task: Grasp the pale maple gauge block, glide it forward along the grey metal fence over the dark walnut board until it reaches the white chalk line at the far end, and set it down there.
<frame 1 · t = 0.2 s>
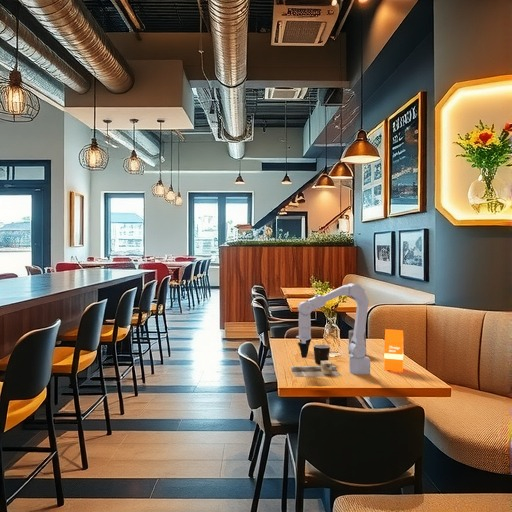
hand: (304, 355, 217), 10 cm above the table, tool pointing down, fingers open, 7 cm apart
marking board: (315, 376, 217), on the table
coffee mug: (319, 366, 237), on the table
gauge block: (326, 372, 218), point 1 cm above the table, touching marking board
orange juice: (393, 369, 230), on the table
pillar candle: (357, 355, 263), on the table
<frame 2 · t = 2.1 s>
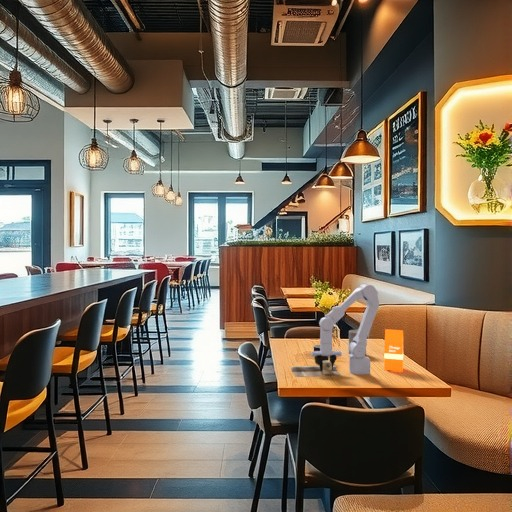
hand: (326, 371, 218), 2 cm above the table, tool pointing down, fingers closed on gauge block, 4 cm apart
gauge block: (326, 372, 218), point 1 cm above the table, touching gripper, marking board
everything else where it was.
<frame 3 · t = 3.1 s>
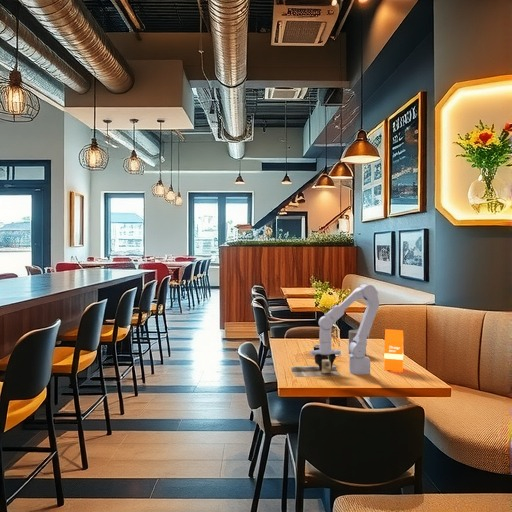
hand: (325, 370, 218), 3 cm above the table, tool pointing down, fingers closed on gauge block, 4 cm apart
gauge block: (325, 371, 218), point 2 cm above the table, touching gripper
everything else where it was.
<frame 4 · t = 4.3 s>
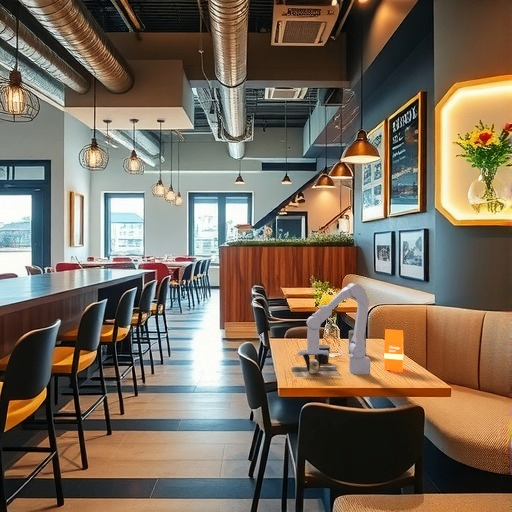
hand: (313, 370, 218), 3 cm above the table, tool pointing down, fingers closed on gauge block, 4 cm apart
gauge block: (313, 371, 218), point 2 cm above the table, touching gripper
everything else where it was.
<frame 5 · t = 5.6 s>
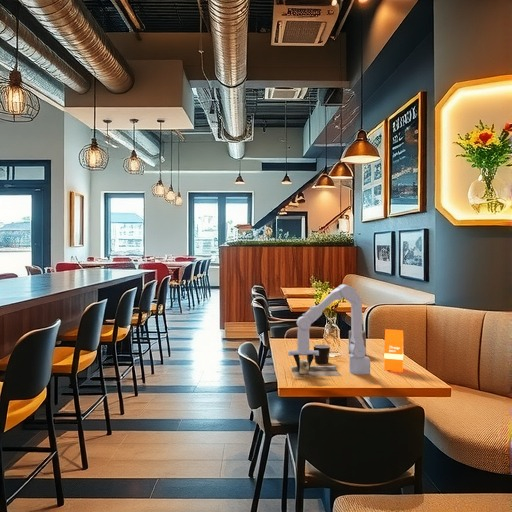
hand: (303, 370, 217), 3 cm above the table, tool pointing down, fingers closed on gauge block, 4 cm apart
gauge block: (303, 371, 217), point 2 cm above the table, touching gripper
everything else where it was.
when the fingers open (2 cm above the table, at t = 6.6 s): gauge block stays where it is, resting on marking board.
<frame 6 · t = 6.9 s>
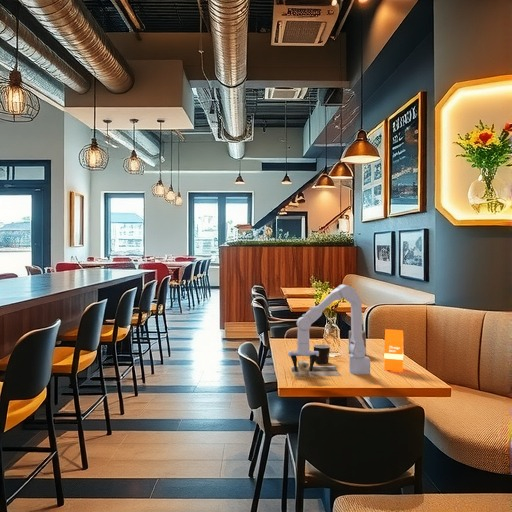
hand: (303, 371, 217), 2 cm above the table, tool pointing down, fingers open, 7 cm apart
gauge block: (303, 372, 217), point 2 cm above the table, touching marking board
everything else where it was.
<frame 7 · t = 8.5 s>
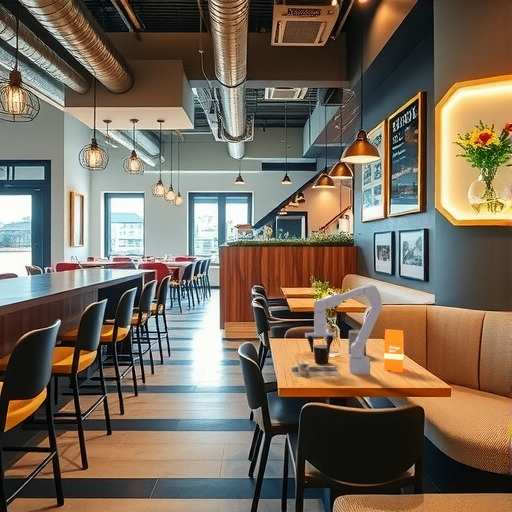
hand: (320, 351, 222), 10 cm above the table, tool pointing down, fingers open, 7 cm apart
nothing on the table moved.
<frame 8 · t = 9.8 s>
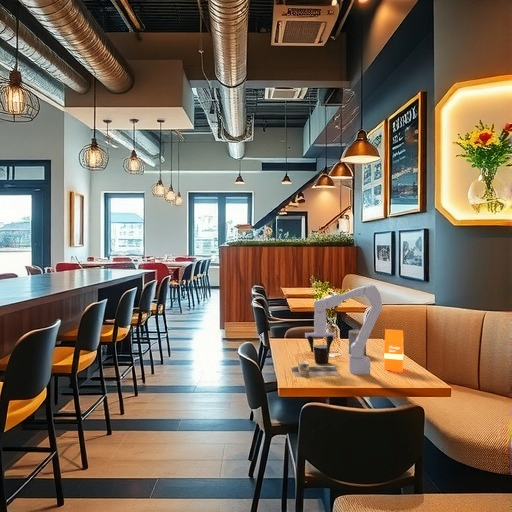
hand: (320, 351, 222), 10 cm above the table, tool pointing down, fingers open, 7 cm apart
nothing on the table moved.
at the end: gauge block 0.0 cm from the target spot, point 1.5 cm above the table; gauge block tilted 0°; the gripper is holding nothing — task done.
